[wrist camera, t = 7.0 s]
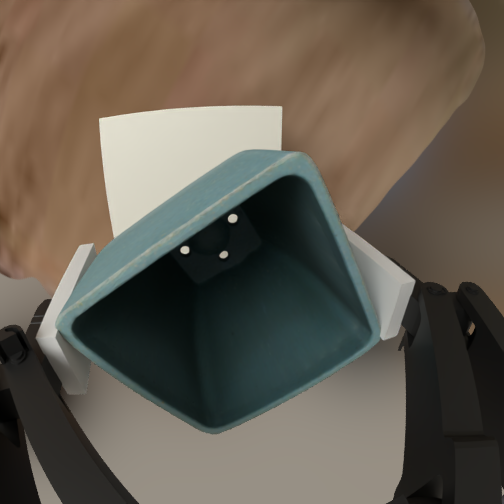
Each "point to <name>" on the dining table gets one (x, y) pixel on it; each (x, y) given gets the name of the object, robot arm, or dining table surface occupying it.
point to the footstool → (175, 153)
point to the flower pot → (227, 294)
